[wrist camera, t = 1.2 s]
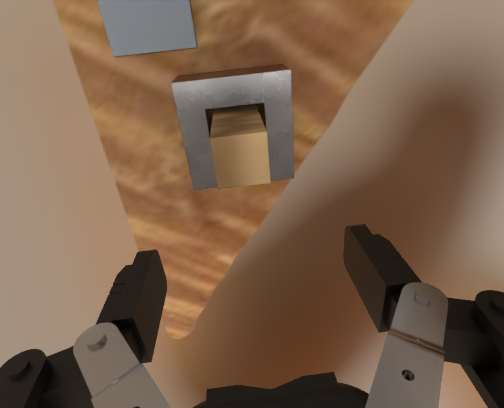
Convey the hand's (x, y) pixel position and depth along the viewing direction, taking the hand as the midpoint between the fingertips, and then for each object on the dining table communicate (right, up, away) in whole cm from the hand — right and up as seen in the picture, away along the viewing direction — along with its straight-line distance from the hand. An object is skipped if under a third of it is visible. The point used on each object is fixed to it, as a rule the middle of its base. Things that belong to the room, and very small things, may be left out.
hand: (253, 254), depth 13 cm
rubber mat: (-9, +19, +13) cm, 25 cm away
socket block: (-2, +11, +19) cm, 22 cm away
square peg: (-2, +11, +19) cm, 22 cm away
